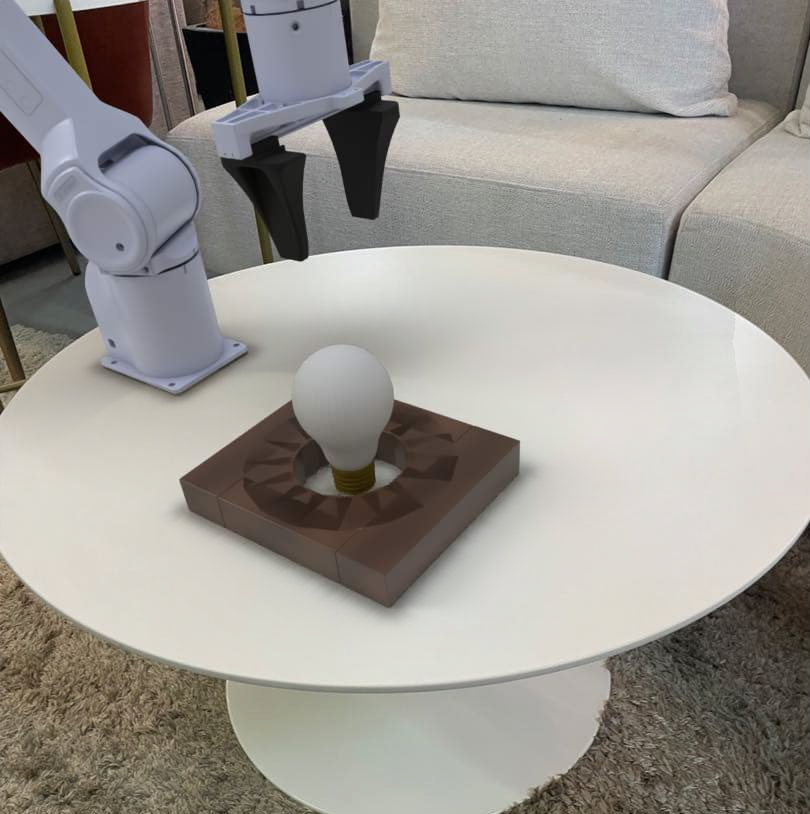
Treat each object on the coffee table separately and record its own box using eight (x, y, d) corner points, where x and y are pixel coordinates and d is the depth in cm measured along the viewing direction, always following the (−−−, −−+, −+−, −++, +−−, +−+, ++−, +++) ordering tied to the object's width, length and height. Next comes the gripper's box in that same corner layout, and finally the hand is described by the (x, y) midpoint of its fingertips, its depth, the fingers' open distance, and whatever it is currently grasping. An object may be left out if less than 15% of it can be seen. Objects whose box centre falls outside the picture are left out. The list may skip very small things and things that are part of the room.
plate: (188, 510, 51) (178, 479, 50) (329, 405, 59) (324, 375, 58) (389, 608, 44) (384, 575, 42) (519, 472, 52) (520, 440, 50)
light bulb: (391, 525, 49) (375, 381, 42) (298, 518, 50) (269, 376, 43) (410, 466, 53) (399, 327, 46) (324, 461, 54) (301, 324, 47)
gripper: (252, 34, 41) (303, 288, 50) (419, -21, 49) (438, 206, 58) (162, 33, 45) (226, 270, 54) (332, -18, 53) (362, 195, 62)
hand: (331, 236), depth 56 cm, fingers open, 7 cm apart
